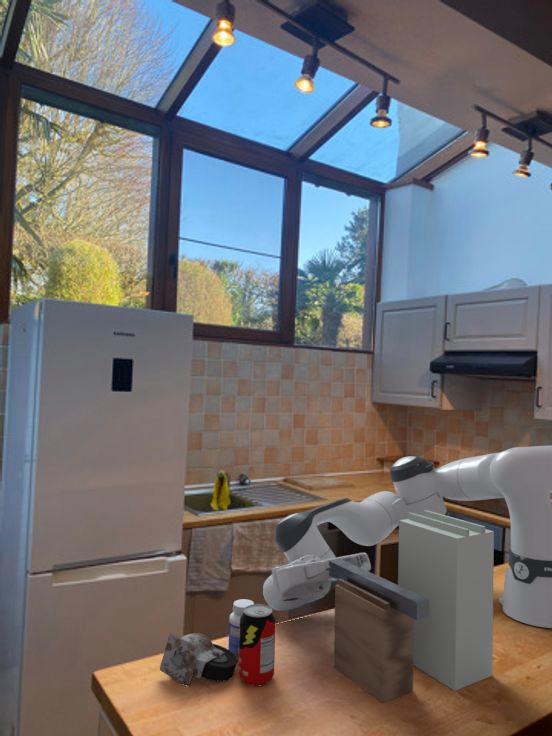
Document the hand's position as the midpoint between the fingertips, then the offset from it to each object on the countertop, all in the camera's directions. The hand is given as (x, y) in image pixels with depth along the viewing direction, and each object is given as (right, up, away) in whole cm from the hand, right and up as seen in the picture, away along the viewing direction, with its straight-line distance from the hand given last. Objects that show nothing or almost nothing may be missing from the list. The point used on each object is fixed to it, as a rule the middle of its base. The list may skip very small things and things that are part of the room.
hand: (346, 561), depth 104 cm
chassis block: (+4, -18, -7) cm, 20 cm away
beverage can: (-17, -18, -8) cm, 26 cm away
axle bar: (+4, -3, -7) cm, 9 cm away
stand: (+18, -19, -2) cm, 26 cm away
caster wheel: (-27, -18, -7) cm, 33 cm away
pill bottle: (-20, -18, +1) cm, 27 cm away
